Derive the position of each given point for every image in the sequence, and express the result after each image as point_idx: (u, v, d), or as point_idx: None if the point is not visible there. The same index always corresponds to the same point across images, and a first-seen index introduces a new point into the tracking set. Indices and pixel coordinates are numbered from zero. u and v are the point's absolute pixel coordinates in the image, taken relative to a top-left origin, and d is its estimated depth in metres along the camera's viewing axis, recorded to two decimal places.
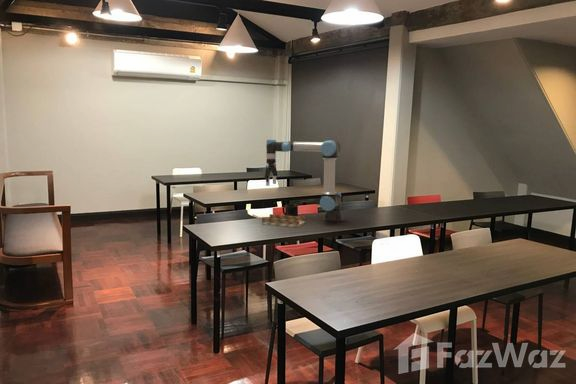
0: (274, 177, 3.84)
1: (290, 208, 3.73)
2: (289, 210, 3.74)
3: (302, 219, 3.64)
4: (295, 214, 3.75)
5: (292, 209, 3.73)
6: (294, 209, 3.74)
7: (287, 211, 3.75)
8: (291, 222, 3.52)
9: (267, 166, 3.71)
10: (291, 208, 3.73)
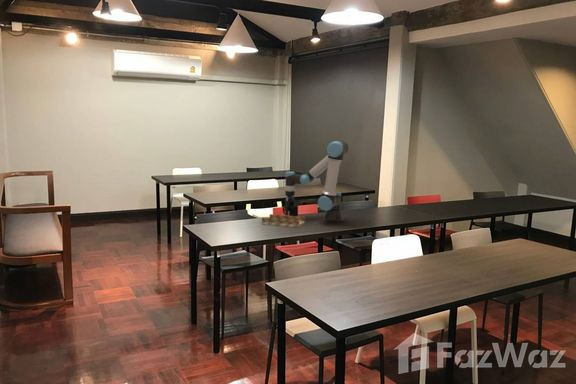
0: None
1: (290, 208, 3.74)
2: (289, 210, 3.74)
3: (302, 219, 3.64)
4: (295, 214, 3.75)
5: (292, 209, 3.74)
6: (294, 209, 3.74)
7: None
8: (291, 222, 3.52)
9: (286, 199, 3.72)
10: (291, 208, 3.74)
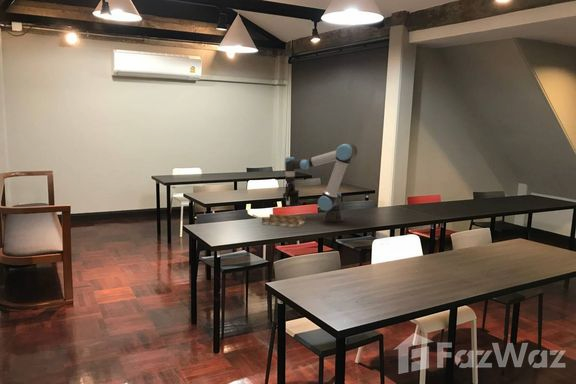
0: None
1: (291, 193, 3.72)
2: (290, 196, 3.72)
3: (302, 219, 3.64)
4: (296, 199, 3.73)
5: (293, 194, 3.72)
6: (295, 194, 3.72)
7: None
8: (291, 222, 3.52)
9: (286, 185, 3.70)
10: (292, 193, 3.72)
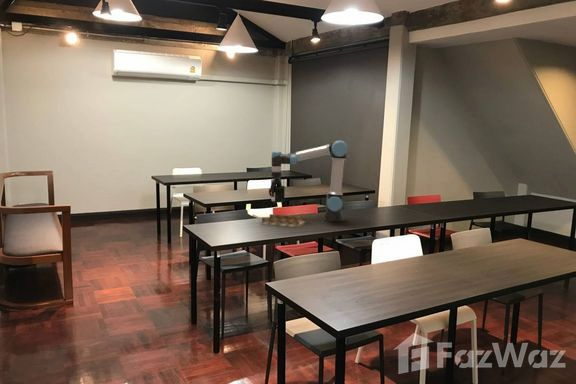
0: None
1: (276, 189, 3.58)
2: (275, 191, 3.58)
3: (302, 219, 3.64)
4: (281, 196, 3.59)
5: (278, 190, 3.58)
6: (280, 190, 3.58)
7: None
8: (291, 222, 3.52)
9: (272, 180, 3.56)
10: (277, 189, 3.58)
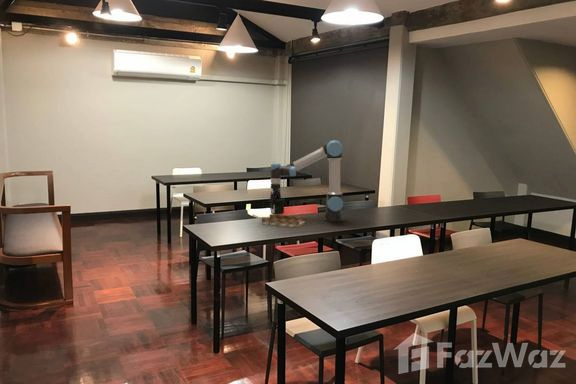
0: None
1: (276, 201, 3.58)
2: (275, 203, 3.58)
3: (302, 219, 3.64)
4: (281, 208, 3.59)
5: (278, 202, 3.58)
6: (280, 202, 3.58)
7: None
8: (291, 222, 3.52)
9: (271, 192, 3.56)
10: (277, 201, 3.58)
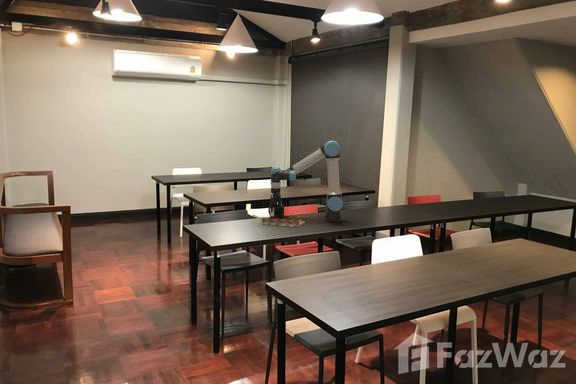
0: None
1: (276, 209, 3.59)
2: (275, 211, 3.59)
3: (302, 219, 3.64)
4: (281, 215, 3.60)
5: (278, 210, 3.59)
6: (280, 210, 3.59)
7: None
8: (291, 222, 3.52)
9: (271, 196, 3.56)
10: (277, 209, 3.58)
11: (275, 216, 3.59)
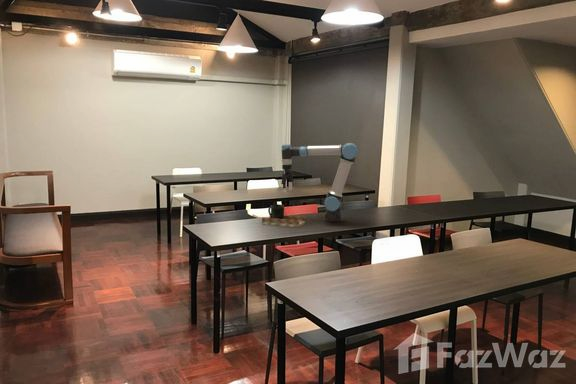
0: (290, 183, 3.72)
1: (276, 209, 3.59)
2: (275, 211, 3.59)
3: (302, 219, 3.64)
4: (281, 215, 3.60)
5: (278, 210, 3.59)
6: (280, 210, 3.59)
7: (273, 212, 3.60)
8: (291, 222, 3.52)
9: (283, 172, 3.59)
10: (277, 209, 3.58)
11: (275, 216, 3.59)
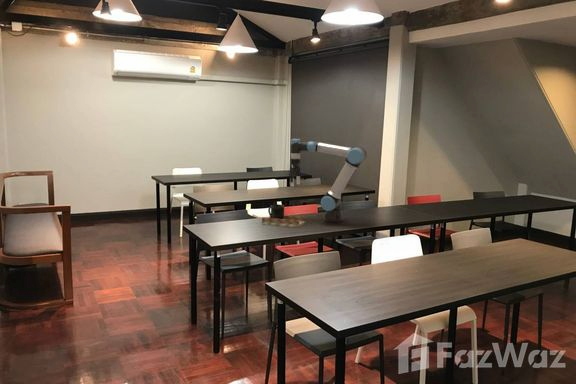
0: (298, 177, 3.76)
1: (276, 209, 3.59)
2: (275, 211, 3.59)
3: (302, 219, 3.64)
4: (281, 215, 3.60)
5: (278, 210, 3.59)
6: (280, 210, 3.59)
7: (273, 212, 3.60)
8: (291, 222, 3.52)
9: (292, 166, 3.62)
10: (277, 209, 3.58)
11: (275, 216, 3.59)
